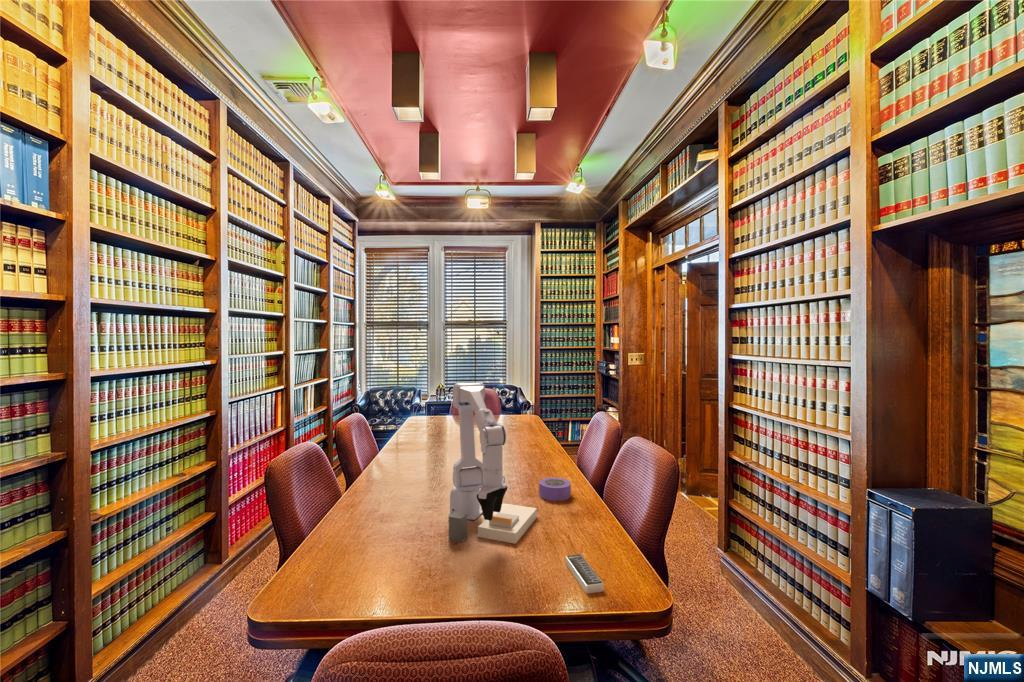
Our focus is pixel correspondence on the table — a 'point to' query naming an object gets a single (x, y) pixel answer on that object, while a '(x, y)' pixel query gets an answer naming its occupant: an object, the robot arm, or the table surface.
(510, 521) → the shutter
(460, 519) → the plug
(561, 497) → the tape roll
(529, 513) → the socket plate
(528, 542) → the table surface
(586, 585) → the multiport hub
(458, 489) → the robot arm
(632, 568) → the table surface
